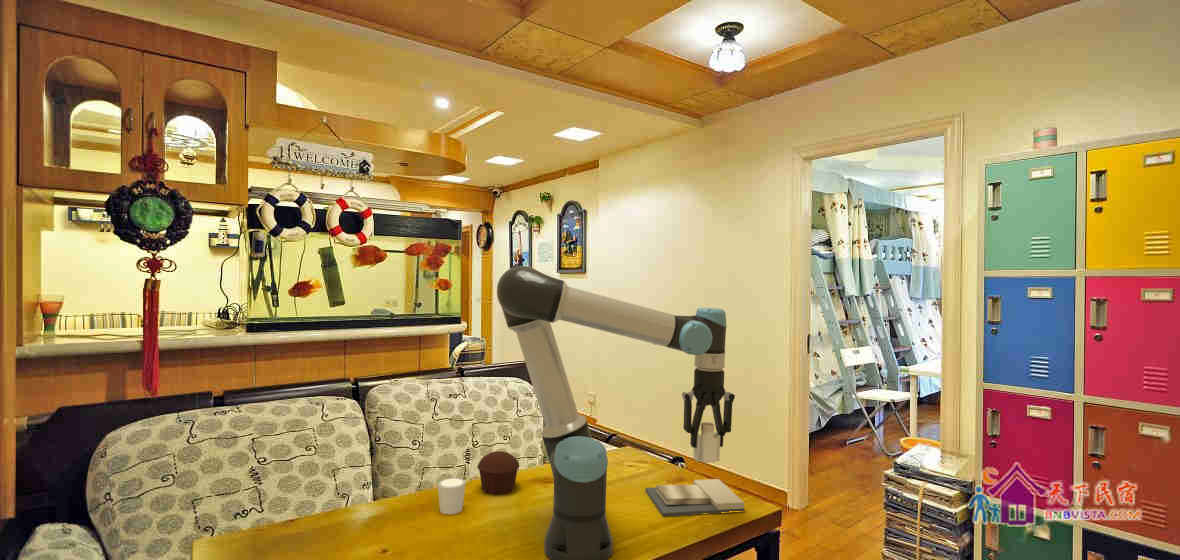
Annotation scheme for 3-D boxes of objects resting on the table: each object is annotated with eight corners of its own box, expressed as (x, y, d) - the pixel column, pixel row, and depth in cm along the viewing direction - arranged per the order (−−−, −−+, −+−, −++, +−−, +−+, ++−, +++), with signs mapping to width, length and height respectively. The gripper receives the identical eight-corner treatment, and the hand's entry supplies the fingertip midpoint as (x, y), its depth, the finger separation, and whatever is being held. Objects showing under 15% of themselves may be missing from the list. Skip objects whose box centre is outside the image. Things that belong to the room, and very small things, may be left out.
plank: (666, 504, 141) (666, 498, 141) (655, 490, 150) (656, 485, 150) (709, 504, 143) (709, 498, 143) (696, 490, 152) (697, 484, 152)
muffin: (523, 482, 157) (524, 448, 157) (513, 498, 146) (514, 461, 146) (483, 479, 158) (484, 445, 158) (471, 495, 147) (472, 458, 147)
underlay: (663, 517, 137) (663, 506, 137) (645, 491, 153) (645, 482, 153) (743, 512, 141) (744, 502, 141) (718, 487, 157) (718, 479, 157)
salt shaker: (708, 457, 141) (710, 421, 141) (717, 462, 137) (718, 425, 137) (695, 458, 139) (696, 422, 139) (703, 464, 135) (705, 426, 135)
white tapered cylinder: (431, 511, 137) (432, 484, 136) (450, 501, 143) (450, 475, 143) (452, 517, 133) (453, 489, 133) (470, 507, 139) (471, 480, 139)
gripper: (681, 371, 133) (677, 465, 133) (748, 371, 135) (744, 463, 136) (671, 365, 140) (668, 455, 140) (735, 366, 143) (732, 453, 143)
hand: (706, 459), depth 138 cm, fingers closed on salt shaker, 4 cm apart
